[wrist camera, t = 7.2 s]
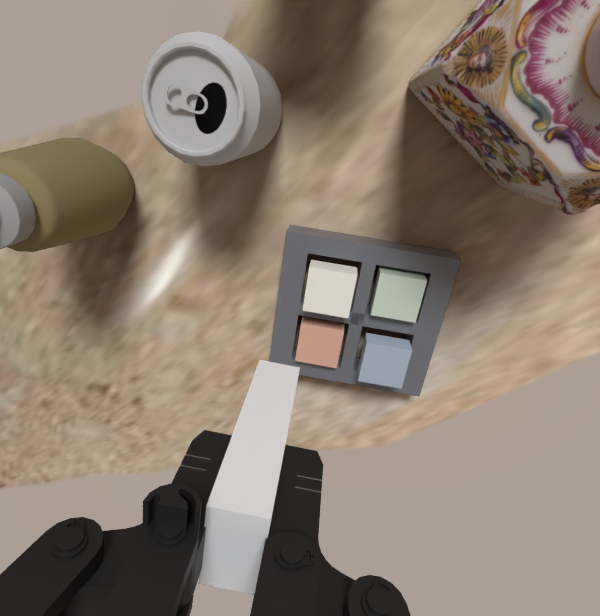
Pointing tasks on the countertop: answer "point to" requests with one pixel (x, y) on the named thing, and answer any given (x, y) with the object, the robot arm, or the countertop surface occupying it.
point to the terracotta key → (319, 341)
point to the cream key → (330, 288)
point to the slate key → (384, 360)
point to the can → (209, 100)
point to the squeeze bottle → (60, 193)
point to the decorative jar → (524, 96)
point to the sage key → (397, 294)
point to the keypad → (362, 301)
